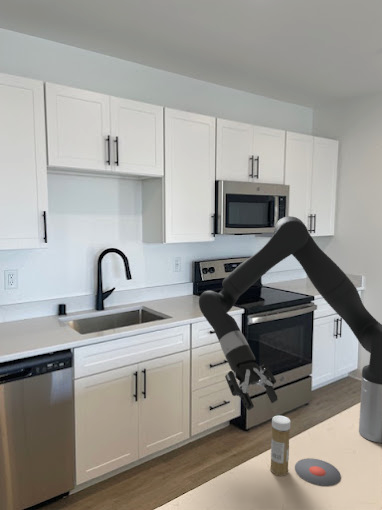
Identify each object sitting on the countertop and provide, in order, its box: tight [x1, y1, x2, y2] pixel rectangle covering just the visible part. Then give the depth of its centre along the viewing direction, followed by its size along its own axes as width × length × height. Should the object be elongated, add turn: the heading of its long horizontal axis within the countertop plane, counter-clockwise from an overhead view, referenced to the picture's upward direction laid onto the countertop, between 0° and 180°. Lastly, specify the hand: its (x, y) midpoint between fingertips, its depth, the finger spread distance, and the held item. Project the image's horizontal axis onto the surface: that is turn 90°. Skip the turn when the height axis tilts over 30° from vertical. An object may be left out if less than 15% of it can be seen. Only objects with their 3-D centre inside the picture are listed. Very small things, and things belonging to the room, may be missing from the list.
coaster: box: [294, 457, 342, 487], centre depth 97 cm, size 11×11×1 cm
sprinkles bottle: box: [269, 415, 292, 477], centre depth 96 cm, size 5×5×14 cm
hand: (263, 405), depth 102 cm, fingers open, 8 cm apart
